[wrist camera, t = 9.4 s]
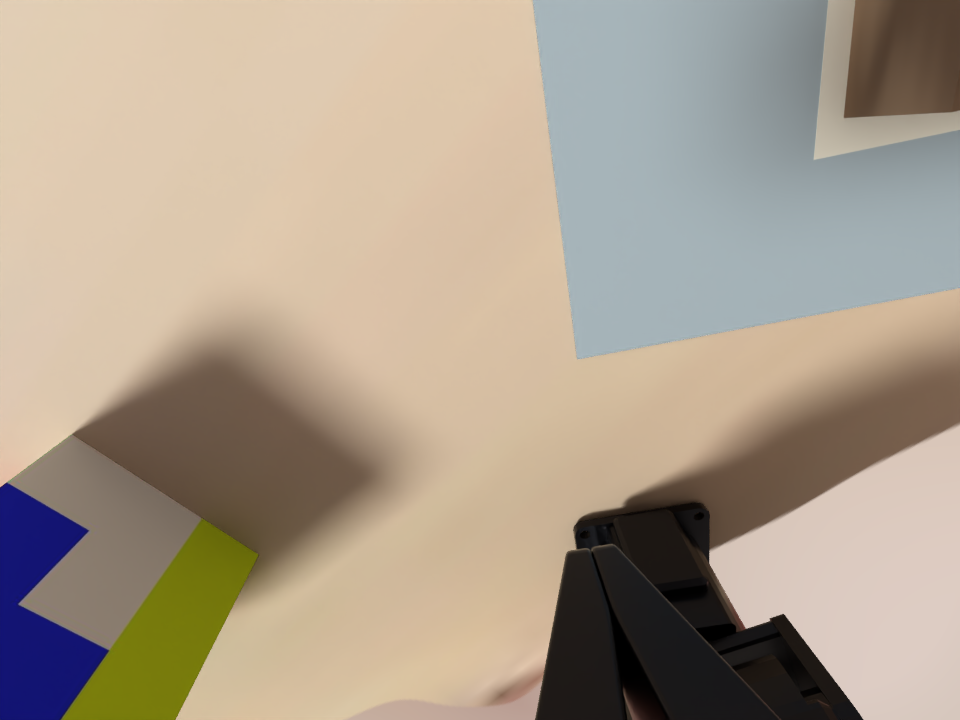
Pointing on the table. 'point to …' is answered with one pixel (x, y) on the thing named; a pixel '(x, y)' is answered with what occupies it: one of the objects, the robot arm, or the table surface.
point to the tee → (904, 58)
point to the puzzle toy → (106, 591)
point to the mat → (733, 170)
